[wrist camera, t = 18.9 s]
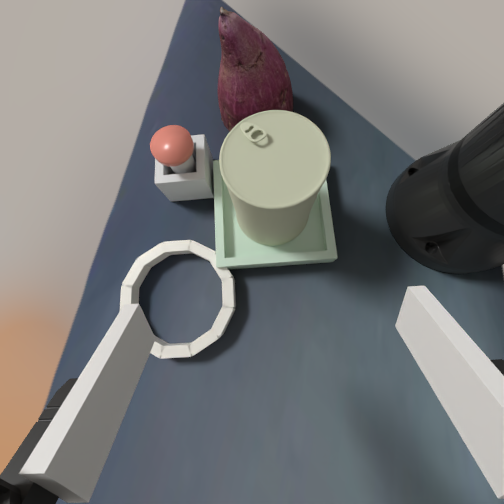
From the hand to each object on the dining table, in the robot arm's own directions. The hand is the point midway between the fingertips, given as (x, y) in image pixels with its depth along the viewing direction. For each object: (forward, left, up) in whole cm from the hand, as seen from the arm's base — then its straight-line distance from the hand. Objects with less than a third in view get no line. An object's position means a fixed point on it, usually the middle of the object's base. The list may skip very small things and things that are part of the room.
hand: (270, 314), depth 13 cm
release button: (+9, -18, -16) cm, 26 cm away
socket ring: (+11, -2, -18) cm, 21 cm away
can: (-1, -12, -17) cm, 21 cm away
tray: (-1, -12, -18) cm, 22 cm away
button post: (+9, -18, -18) cm, 27 cm away
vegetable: (0, -28, -18) cm, 34 cm away
